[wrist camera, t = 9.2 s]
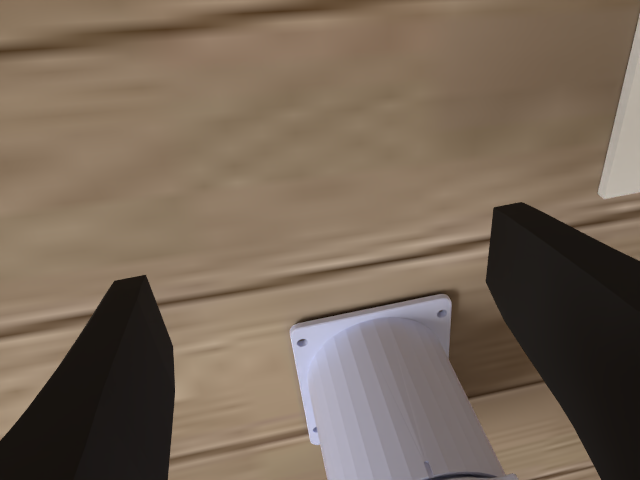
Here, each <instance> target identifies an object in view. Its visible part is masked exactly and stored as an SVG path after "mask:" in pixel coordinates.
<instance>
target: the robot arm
mask: <svg viewBox="0 0 640 480" xmlns="http://www.w3.org/2000/svg"><path fill="white" fill-rule="evenodd" d="M486 283H487V285H488V288H489V290H490V292H491V294H492V296H493V298H494V301H495V303H496V305H497V307H498V309H499V311H500V313H501V315H502V317H503V319H504V321H505V322H506V324H507V326H508V327H509V329H510V330H511V332H512V333H513V335H514V336H515V338H516V339H517V341H518V342H519V344H520V346H521V347H522V349H523V350H524V352H525V353H526V355H527V356H528V358H529V359H530V361H531V362H532V364H533V365H534V366H535V368H536V369H537V371H538V372H539V374H540V375H541V377H542V378H543V380H544V381H545V383H546V384H547V386H548V387H549V389H550V390H551V392H552V393H553V395H554V396H555V398H556V399H557V401H558V402H559V404H560V405H561V407H562V408H563V410H564V412H565V413H566V415H567V417H568V418H569V420H570V422H571V423H572V425H573V427H574V428H575V430H576V432H577V434H578V436H579V438H580V440H581V442H582V444H583V445H584V447H585V449H586V451H587V453H588V455H589V457H590V459H591V461H592V462H593V464H594V466H595V468H596V470H597V472H598V474H599V476H600V478H601V480H640V261H638V260H636V259H634V258H632V257H630V256H628V255H626V254H624V253H621V252H619V251H617V250H615V249H613V248H611V247H609V246H607V245H605V244H603V243H601V242H599V241H597V240H595V239H594V238H592V237H590V236H588V235H586V234H584V233H582V232H580V231H578V230H576V229H574V228H572V227H570V226H569V225H567V224H565V223H563V222H561V221H559V220H557V219H555V218H553V217H551V216H549V215H547V214H545V213H543V212H541V211H539V210H538V209H535V208H533V207H531V206H529V205H527V204H525V203H522V202H520V203H514V204H509V205H504V206H499V207H494V209H493V219H492V228H491V238H490V247H489V256H488V266H487V275H486ZM451 309H452V302H451V300H450V298H449V296H448V295H446V294H438V295H433V296H428V297H423V298H418V299H414V300H409V301H404V302H399V303H394V304H389V305H384V306H379V307H375V308H370V309H365V310H360V311H355V312H350V313H345V314H341V315H336V316H331V317H326V318H321V319H316V320H311V321H307V322H302V323H298V324H295V325H293V326H292V327H291V329H290V337H291V342H292V347H293V353H294V358H295V363H296V368H297V374H298V379H299V384H300V389H301V395H302V400H303V405H304V410H305V416H306V421H307V426H308V431H309V437H310V441H311V443H312V444H314V445H320V446H321V451H322V455H323V460H324V465H325V470H326V474H327V479H328V480H518V478H517V476H516V474H513V473H512V474H508V475H506V474H505V472H504V470H503V468H502V466H501V464H500V462H499V460H498V458H497V456H496V454H495V452H494V450H493V448H492V446H491V444H490V442H489V440H488V438H487V436H486V434H485V432H484V430H483V428H482V426H481V424H480V422H479V420H478V418H477V416H476V414H475V412H474V410H473V408H472V406H471V404H470V402H469V400H468V398H467V396H466V394H465V392H464V390H463V388H462V386H461V383H460V381H459V379H458V377H457V375H456V373H455V371H454V369H453V367H452V365H451V363H450V361H449V344H450V327H451ZM440 310H442V311H441V312H439V311H440ZM301 339H305V340H302V341H299V340H301ZM174 398H175V379H174V357H173V345H172V342H171V340H170V337H169V334H168V332H167V329H166V327H165V324H164V321H163V319H162V316H161V313H160V311H159V308H158V306H157V303H156V300H155V298H154V295H153V292H152V290H151V287H150V285H149V282H148V279H147V277H146V275H142V276H137V277H132V278H127V279H122V280H116V281H114V282H113V284H112V285H111V287H110V288H109V290H108V291H107V293H106V294H105V296H104V297H103V299H102V301H101V302H100V304H99V305H98V307H97V309H96V310H95V312H94V313H93V315H92V317H91V318H90V320H89V321H88V323H87V324H86V326H85V328H84V329H83V331H82V332H81V334H80V335H79V337H78V338H77V340H76V341H75V343H74V344H73V346H72V347H71V349H70V350H69V352H68V353H67V355H66V356H65V358H64V359H63V361H62V362H61V364H60V365H59V367H58V368H57V369H56V371H55V372H54V374H53V375H52V376H51V378H50V379H49V380H48V382H47V383H46V384H45V386H44V387H43V388H42V390H41V391H40V392H39V394H38V395H37V396H36V398H35V399H34V400H33V402H32V403H31V404H30V406H29V407H28V408H27V410H26V411H25V412H24V413H23V415H22V416H21V417H20V418H19V420H18V421H17V422H16V423H15V425H14V426H13V427H12V428H11V429H10V430H9V432H8V433H7V434H6V435H5V436H4V437H3V438H2V440H1V441H0V480H168V469H169V458H170V446H171V435H172V423H173V411H174Z"/></svg>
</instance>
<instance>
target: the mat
mask: <svg viewBox="0 0 640 480" xmlns="http://www.w3.org/2000/svg"><path fill="white" fill-rule="evenodd" d="M639 192H640V15H639V19H638V24H637V28H636V32H635V36H634V41H633V45H632V49H631V54H630V58H629V62H628V66H627V71H626V75H625V79H624V83H623V88H622V92H621V96H620V100H619V105H618V109H617V113H616V118H615V122H614V126H613V130H612V135H611V139H610V143H609V147H608V152H607V156H606V160H605V164H604V169H603V173H602V177H601V181H600V186H599V190H598V194H599V195H600V196H601V197H602V198H603V199H608V198H613V197H618V196H623V195H628V194H633V193H639Z"/></svg>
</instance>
